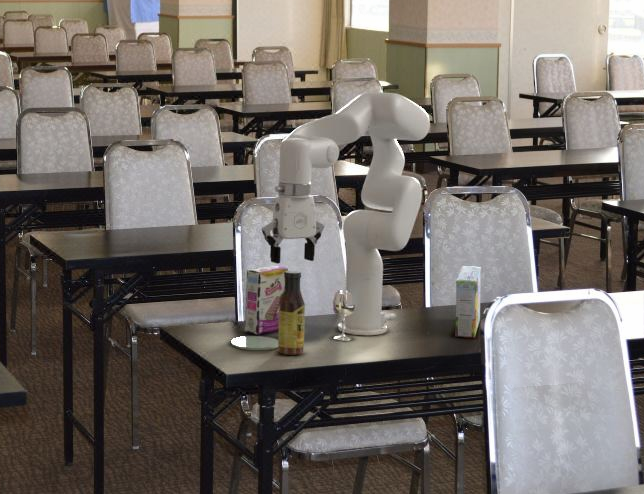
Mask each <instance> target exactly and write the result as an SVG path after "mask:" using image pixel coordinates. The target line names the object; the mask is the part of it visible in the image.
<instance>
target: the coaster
mask: <svg viewBox="0 0 644 494" xmlns="http://www.w3.org/2000/svg"><path fill="white" fill-rule="evenodd" d="M231 345H232V346H233V347H235V348H237V349H242V350H248V351H268V350H274V349H278V348H279V346H278V338H277V339H276V338H274V337H269V336H261V335H248V336H246V335H245V336H240V337H236V338H233V339H232V340H231Z"/></svg>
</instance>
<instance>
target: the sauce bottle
mask: <svg viewBox="0 0 644 494" xmlns="http://www.w3.org/2000/svg"><path fill="white" fill-rule="evenodd" d="M284 278H285V287H284V289H285V291H284V292H283V294H282V295H281V297H280V302H279V303H280V306H279V327H278V330H277V332H278V333H277V340H278V346H279V347H277V349H278V352H279V353H280V354H282V355H286V356H297V355H301V354H303V352H304V347H305V319H306V318H305V313H306V303H305V300H304V298H303V295H302V290H301V278H302V272H301V271H298V270H288V271H285V272H284Z"/></svg>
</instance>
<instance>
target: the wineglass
mask: <svg viewBox="0 0 644 494" xmlns="http://www.w3.org/2000/svg"><path fill="white" fill-rule="evenodd" d="M332 310H333V313H334V314H335V315H337V316H338V317H341V318H342V319H341V323H342V331H341V335H337V336H334V337H333V339H334V340H336V341H340V342H341V341H342V342H343V341H344V342H346V341H351V340H352V339H353V338H352V337H351V336H347V335H346V334H345V332H344V325H345V317H348V316H350V315H352V314H353V313H354V311H355V297H354V292H352V291H346V290H345V289H344V290H343V289H341V290H336V291H335V292H334V294H333V299H332Z"/></svg>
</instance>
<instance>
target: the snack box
mask: <svg viewBox="0 0 644 494" xmlns="http://www.w3.org/2000/svg"><path fill="white" fill-rule="evenodd" d="M481 272H482V267H481V266H473V265H463V266H461V269H460V271H459V274H458V276H457V278H456V281H455V291H456V292H455V329H454V330H455V334H454V337H455V338H469V339H475V338H476V334H477V331H478V328H479V324H480V322H481V276H482V275H481V274H482V273H481Z"/></svg>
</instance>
